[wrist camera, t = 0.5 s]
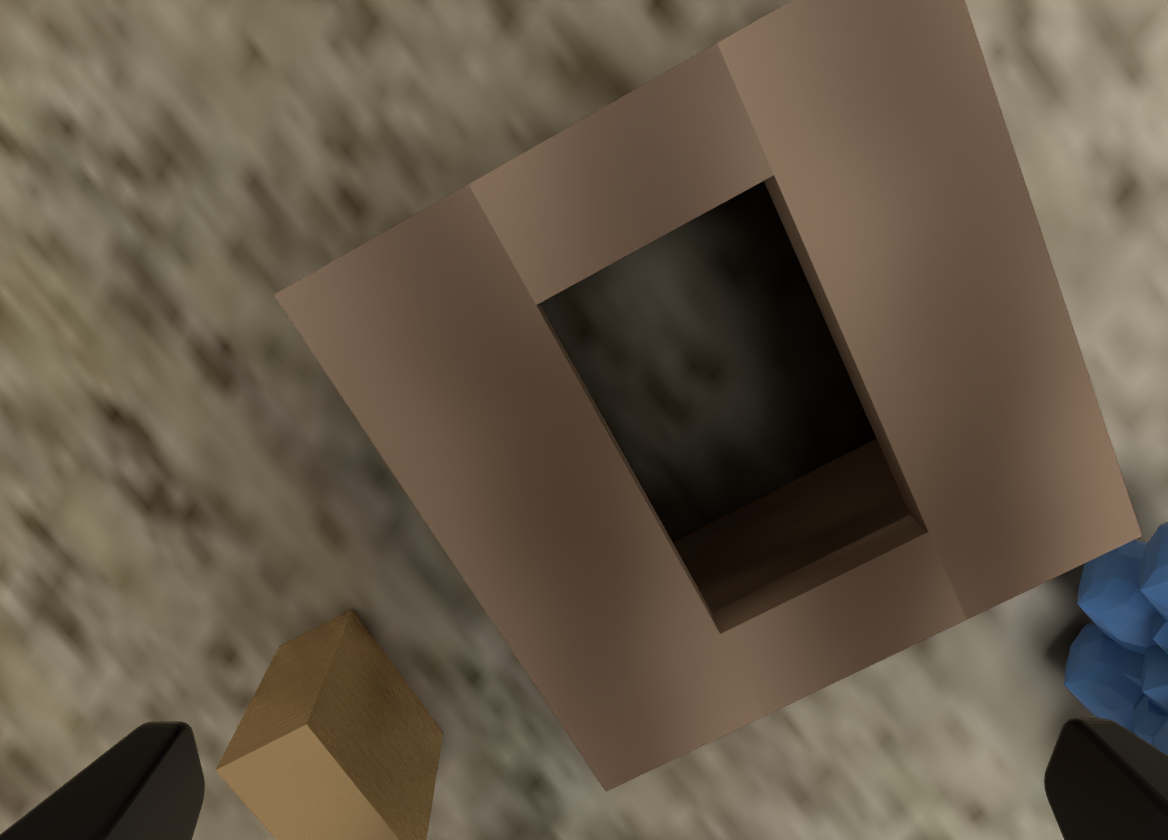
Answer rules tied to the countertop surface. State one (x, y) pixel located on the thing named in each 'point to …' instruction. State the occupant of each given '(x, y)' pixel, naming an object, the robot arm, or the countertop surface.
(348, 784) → the tan flat block
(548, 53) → the countertop surface
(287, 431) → the countertop surface
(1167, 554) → the grapes
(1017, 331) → the box
